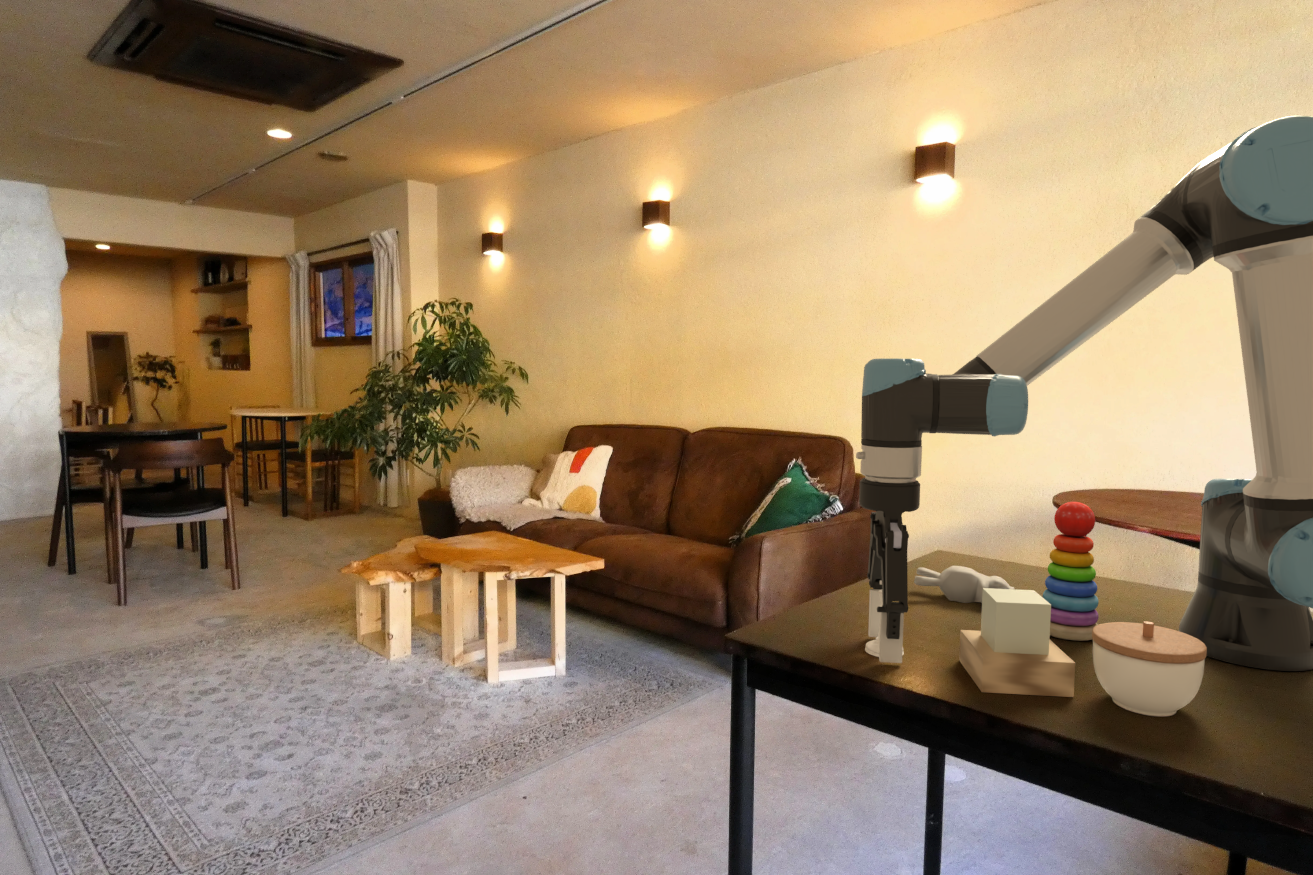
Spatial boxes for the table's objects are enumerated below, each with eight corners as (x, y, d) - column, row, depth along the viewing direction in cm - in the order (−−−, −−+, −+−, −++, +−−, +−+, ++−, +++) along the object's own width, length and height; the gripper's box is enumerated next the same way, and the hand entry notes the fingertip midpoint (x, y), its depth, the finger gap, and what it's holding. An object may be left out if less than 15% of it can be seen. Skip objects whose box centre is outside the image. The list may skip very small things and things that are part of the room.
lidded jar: (1098, 678, 95) (1103, 602, 94) (1206, 702, 88) (1212, 620, 87) (1079, 707, 86) (1084, 624, 86) (1196, 736, 80) (1203, 646, 79)
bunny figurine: (1018, 588, 120) (916, 567, 125) (1012, 620, 120) (911, 597, 126) (1015, 573, 128) (919, 554, 134) (1009, 603, 129) (915, 583, 134)
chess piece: (895, 661, 100) (898, 584, 99) (859, 652, 103) (861, 577, 102) (909, 650, 104) (911, 576, 103) (873, 642, 107) (875, 570, 106)
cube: (1031, 637, 97) (1033, 590, 96) (1048, 654, 91) (1051, 604, 91) (980, 634, 98) (982, 587, 97) (994, 652, 92) (996, 602, 91)
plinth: (1041, 664, 99) (1043, 633, 98) (1073, 696, 89) (1075, 662, 89) (959, 660, 100) (960, 629, 100) (981, 691, 90) (983, 658, 90)
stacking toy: (1108, 645, 106) (1116, 508, 104) (1045, 640, 108) (1051, 505, 106) (1089, 626, 114) (1096, 498, 112) (1030, 622, 115) (1036, 496, 114)
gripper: (850, 467, 112) (845, 621, 114) (872, 489, 91) (866, 678, 93) (904, 468, 111) (898, 623, 113) (939, 491, 90) (932, 681, 92)
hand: (884, 648), depth 103 cm, fingers open, 9 cm apart
